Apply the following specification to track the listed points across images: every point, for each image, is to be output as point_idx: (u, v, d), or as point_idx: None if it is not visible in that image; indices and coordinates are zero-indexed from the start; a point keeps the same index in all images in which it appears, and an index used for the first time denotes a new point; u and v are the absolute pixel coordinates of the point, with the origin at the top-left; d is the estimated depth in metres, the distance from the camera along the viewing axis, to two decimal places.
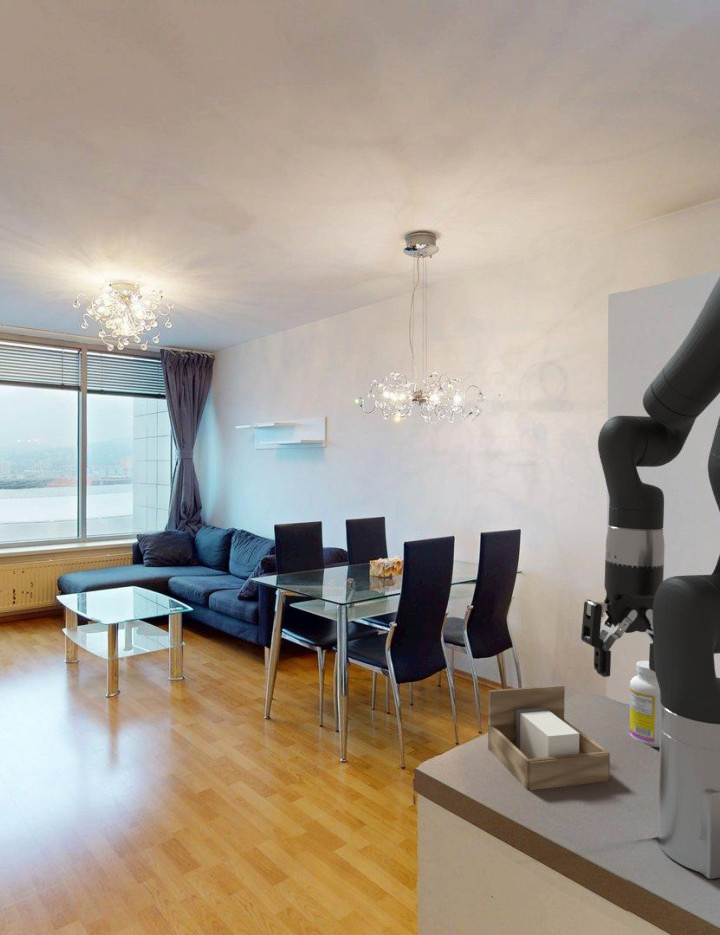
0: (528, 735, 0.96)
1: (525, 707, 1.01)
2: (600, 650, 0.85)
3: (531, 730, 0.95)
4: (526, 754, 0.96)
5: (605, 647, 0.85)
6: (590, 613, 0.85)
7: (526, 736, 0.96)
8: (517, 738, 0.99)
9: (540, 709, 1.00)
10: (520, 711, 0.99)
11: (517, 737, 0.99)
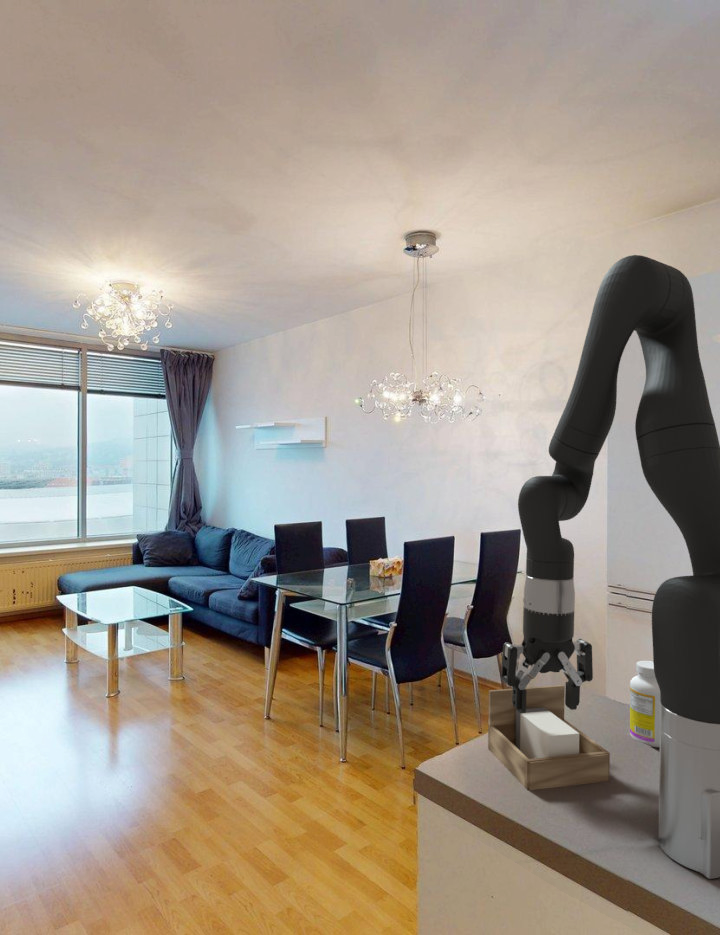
0: (528, 735, 0.96)
1: None
2: (517, 689, 0.94)
3: (531, 730, 0.95)
4: (526, 754, 0.96)
5: (521, 686, 0.93)
6: (507, 655, 0.94)
7: (526, 736, 0.96)
8: (517, 738, 0.99)
9: (540, 709, 1.00)
10: None
11: (517, 737, 0.99)
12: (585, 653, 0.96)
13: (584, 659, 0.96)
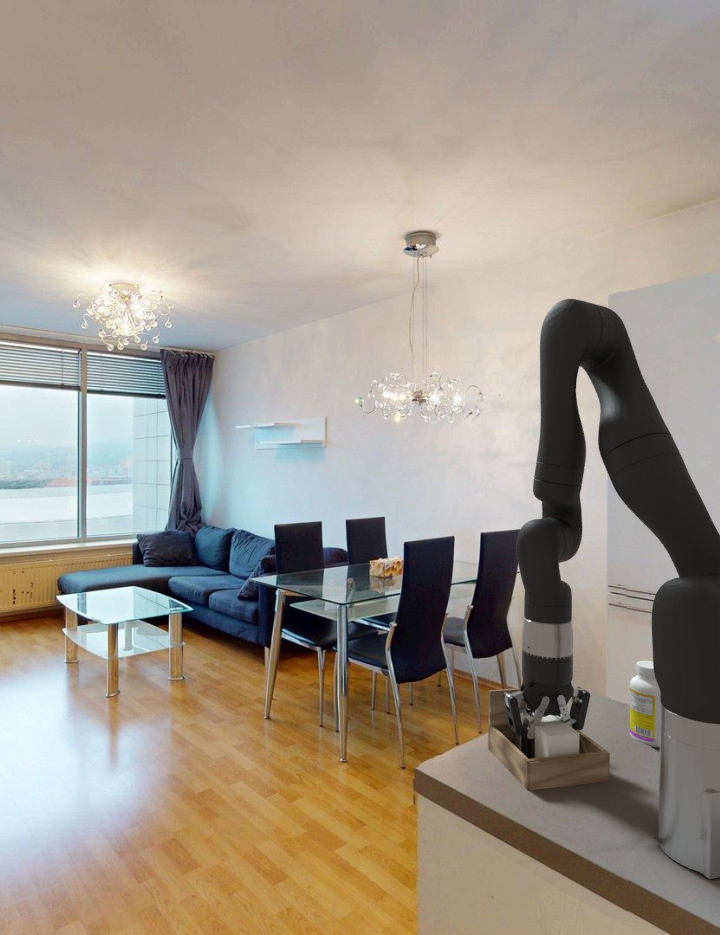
0: None
1: None
2: (525, 738, 0.94)
3: None
4: None
5: (529, 735, 0.93)
6: (508, 706, 0.93)
7: None
8: (517, 738, 0.99)
9: None
10: (520, 711, 0.99)
11: (517, 737, 0.99)
12: (582, 701, 0.95)
13: (579, 706, 0.95)
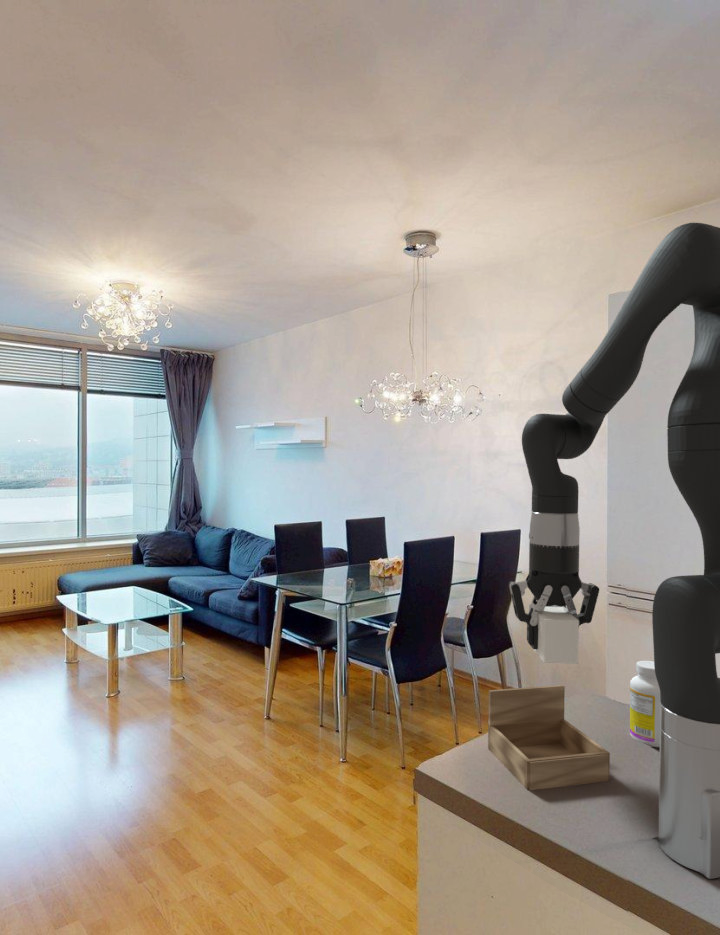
0: None
1: (525, 707, 1.01)
2: (529, 625, 0.97)
3: None
4: None
5: (532, 622, 0.97)
6: (512, 593, 0.98)
7: None
8: None
9: (554, 606, 1.02)
10: None
11: None
12: (590, 594, 0.96)
13: (588, 600, 0.97)
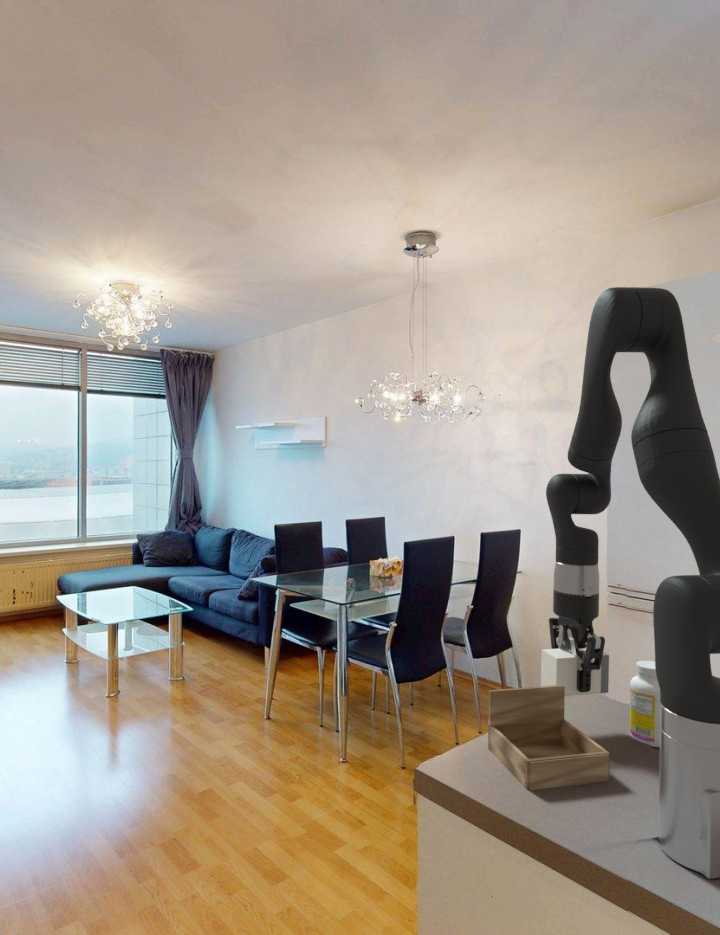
0: None
1: (525, 707, 1.01)
2: None
3: None
4: None
5: None
6: None
7: None
8: None
9: None
10: None
11: None
12: (587, 644, 1.03)
13: None
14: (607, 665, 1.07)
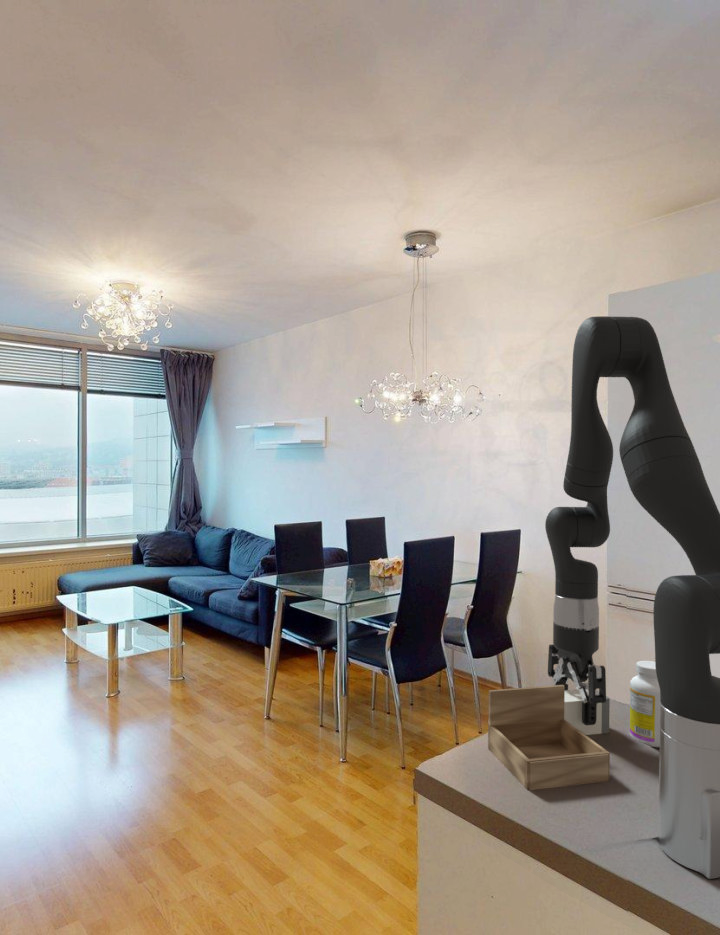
0: None
1: (525, 707, 1.01)
2: None
3: None
4: None
5: (553, 680, 1.13)
6: None
7: None
8: None
9: None
10: None
11: None
12: (588, 675, 1.02)
13: None
14: (608, 708, 1.07)
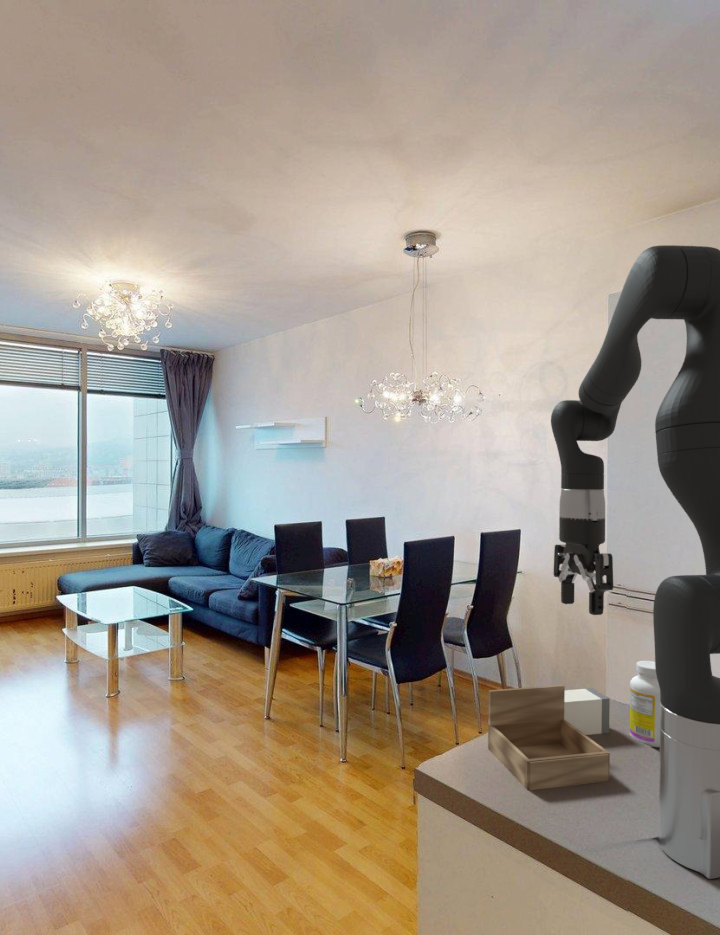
0: None
1: (525, 707, 1.01)
2: (561, 581, 1.13)
3: None
4: None
5: (559, 579, 1.12)
6: None
7: None
8: None
9: (602, 696, 1.07)
10: (590, 689, 1.11)
11: None
12: (595, 562, 1.02)
13: None
14: (608, 708, 1.07)
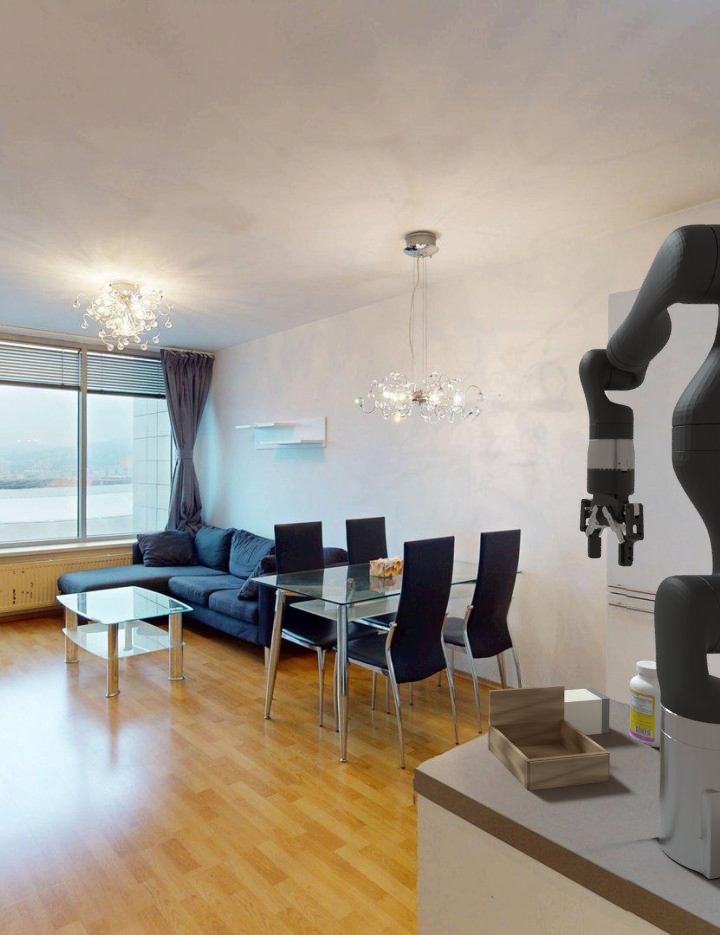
0: None
1: (525, 707, 1.01)
2: (588, 536, 1.10)
3: None
4: None
5: (586, 533, 1.10)
6: None
7: None
8: None
9: (602, 696, 1.07)
10: (590, 689, 1.11)
11: None
12: (625, 512, 1.00)
13: None
14: (608, 708, 1.07)
